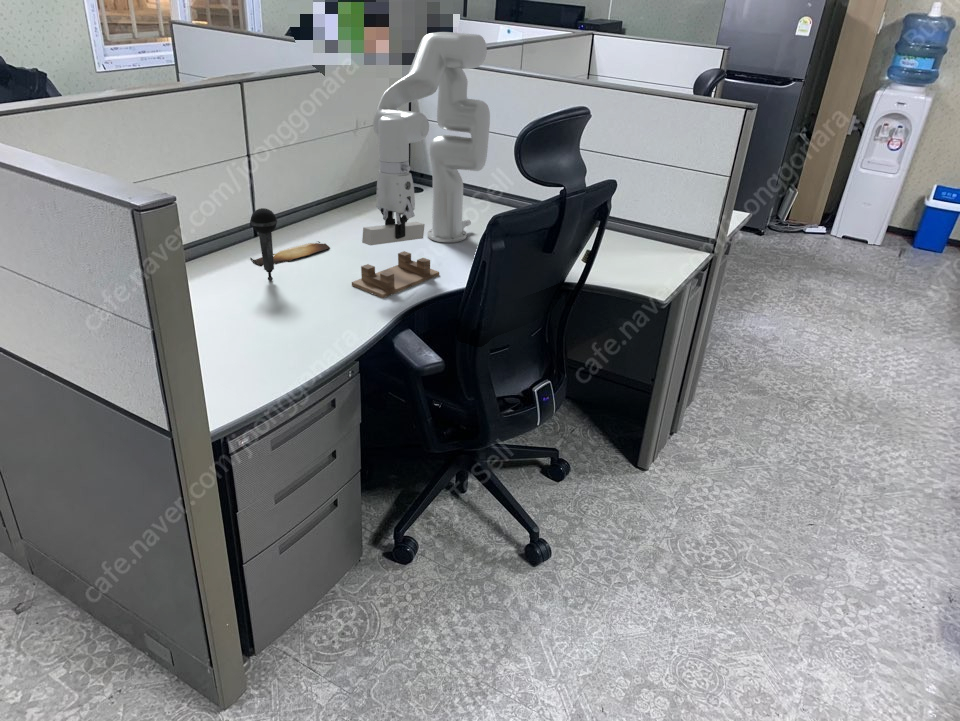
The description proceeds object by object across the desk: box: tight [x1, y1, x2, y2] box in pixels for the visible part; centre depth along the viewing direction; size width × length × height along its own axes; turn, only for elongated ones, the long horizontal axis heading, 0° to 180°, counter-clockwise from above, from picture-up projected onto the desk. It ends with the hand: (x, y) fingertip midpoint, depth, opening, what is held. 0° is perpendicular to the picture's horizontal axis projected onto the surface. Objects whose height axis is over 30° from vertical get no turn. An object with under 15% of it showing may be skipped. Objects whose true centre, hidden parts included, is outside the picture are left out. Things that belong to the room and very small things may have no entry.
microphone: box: [249, 208, 278, 282], centre depth 190 cm, size 7×7×20 cm
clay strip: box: [361, 221, 426, 246], centre depth 191 cm, size 20×3×4 cm, turn 141°
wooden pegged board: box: [351, 250, 440, 299], centre depth 197 cm, size 22×12×5 cm, turn 141°
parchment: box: [250, 240, 331, 267], centre depth 213 cm, size 25×10×1 cm, turn 135°
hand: (395, 235), depth 192 cm, fingers closed on clay strip, 3 cm apart
